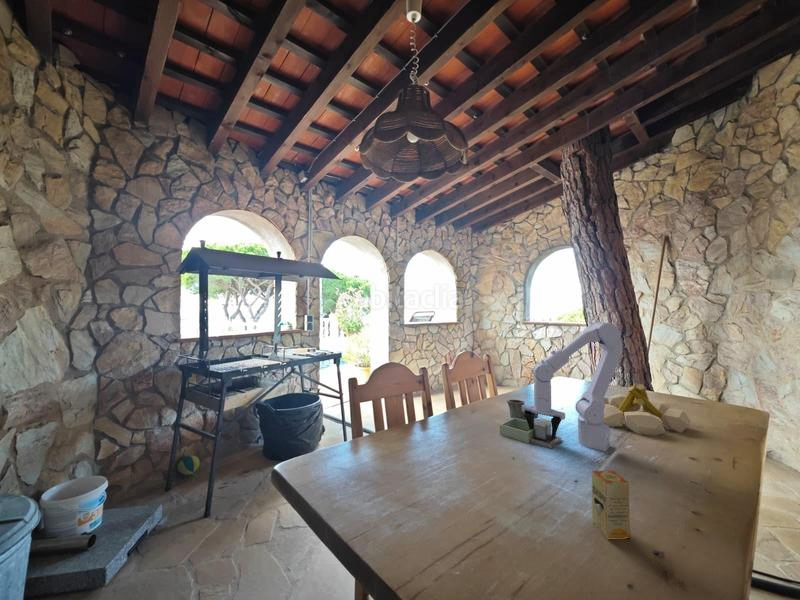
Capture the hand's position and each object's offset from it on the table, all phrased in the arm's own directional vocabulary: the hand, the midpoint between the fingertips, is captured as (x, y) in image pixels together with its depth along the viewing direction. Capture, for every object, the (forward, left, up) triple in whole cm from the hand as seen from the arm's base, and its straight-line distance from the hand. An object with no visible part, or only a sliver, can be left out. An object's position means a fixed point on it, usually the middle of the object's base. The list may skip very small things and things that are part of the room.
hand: (542, 434), depth 119 cm
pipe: (+17, -19, -3) cm, 26 cm away
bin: (+8, 0, -3) cm, 9 cm away
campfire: (-18, -51, -4) cm, 54 cm away
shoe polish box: (-30, +36, -3) cm, 47 cm away
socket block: (0, 0, -3) cm, 3 cm away
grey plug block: (0, 0, -2) cm, 2 cm away
